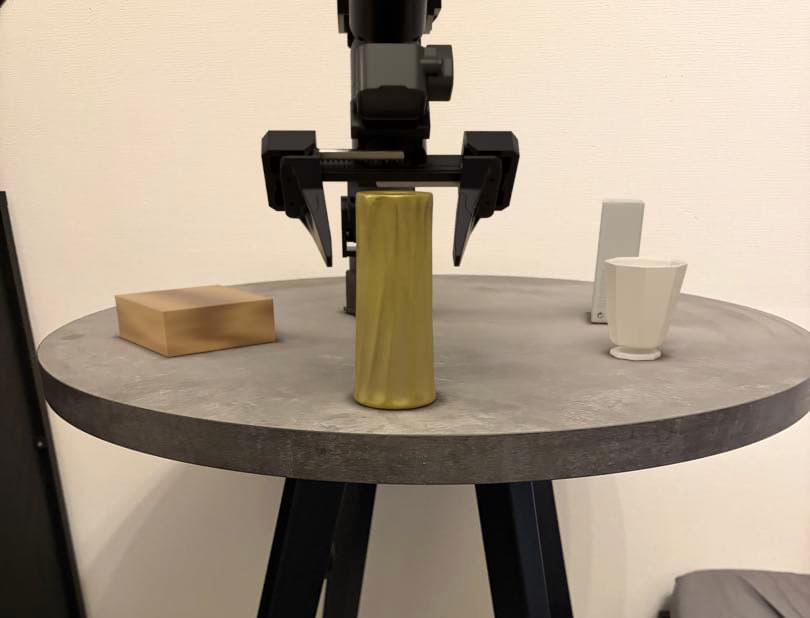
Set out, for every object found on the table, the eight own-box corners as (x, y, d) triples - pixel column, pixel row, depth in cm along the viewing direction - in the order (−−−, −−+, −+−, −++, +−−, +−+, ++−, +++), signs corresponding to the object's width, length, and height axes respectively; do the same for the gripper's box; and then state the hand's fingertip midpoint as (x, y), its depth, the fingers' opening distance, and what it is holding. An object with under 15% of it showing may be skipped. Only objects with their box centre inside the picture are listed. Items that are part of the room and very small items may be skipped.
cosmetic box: (631, 325, 91) (645, 202, 85) (590, 323, 91) (601, 201, 86) (630, 314, 96) (642, 198, 91) (590, 313, 97) (601, 198, 92)
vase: (352, 388, 67) (348, 190, 61) (431, 387, 68) (434, 190, 62) (355, 411, 62) (350, 195, 56) (440, 409, 62) (445, 195, 56)
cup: (594, 361, 76) (603, 265, 72) (596, 338, 84) (605, 251, 81) (677, 366, 74) (691, 268, 71) (671, 342, 83) (683, 253, 80)
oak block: (221, 323, 91) (218, 284, 89) (275, 341, 83) (273, 298, 81) (120, 337, 84) (114, 295, 83) (167, 357, 77) (162, 311, 75)
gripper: (254, 0, 60) (247, 180, 54) (523, 3, 61) (543, 180, 55) (271, 129, 70) (267, 290, 65) (500, 130, 71) (515, 289, 66)
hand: (393, 263), depth 62 cm, fingers open, 9 cm apart
